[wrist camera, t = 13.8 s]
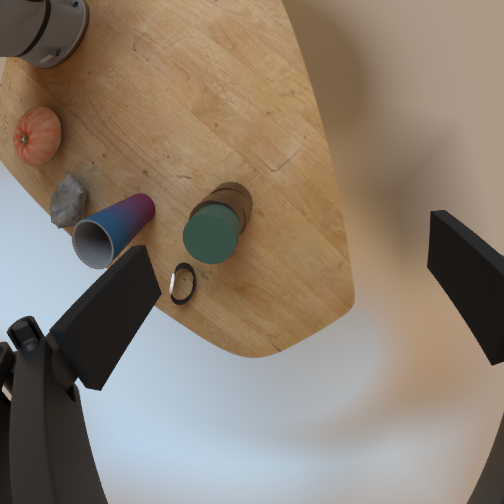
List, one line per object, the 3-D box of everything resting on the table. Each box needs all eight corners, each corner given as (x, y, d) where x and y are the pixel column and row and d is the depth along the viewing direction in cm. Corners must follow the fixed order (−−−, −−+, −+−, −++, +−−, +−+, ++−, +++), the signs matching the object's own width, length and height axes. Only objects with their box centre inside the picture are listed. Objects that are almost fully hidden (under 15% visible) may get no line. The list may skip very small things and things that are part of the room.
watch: (167, 306, 50) (163, 295, 53) (193, 307, 52) (188, 296, 55) (174, 268, 47) (170, 257, 50) (201, 269, 50) (196, 259, 53)
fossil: (81, 158, 44) (52, 167, 37) (111, 194, 47) (85, 209, 40) (54, 198, 48) (27, 211, 41) (81, 231, 51) (56, 249, 44)
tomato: (31, 111, 41) (3, 115, 34) (69, 99, 40) (39, 102, 33) (35, 163, 46) (7, 173, 39) (72, 158, 45) (43, 167, 37)
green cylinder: (186, 241, 37) (177, 253, 34) (199, 196, 34) (190, 205, 31) (232, 257, 37) (226, 271, 34) (247, 214, 35) (243, 224, 32)
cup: (145, 180, 45) (92, 209, 32) (167, 215, 47) (123, 256, 34) (117, 201, 47) (63, 234, 34) (138, 233, 49) (91, 276, 36)
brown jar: (204, 214, 47) (182, 241, 37) (216, 175, 44) (196, 192, 34) (245, 229, 47) (233, 260, 37) (259, 190, 44) (251, 212, 34)
